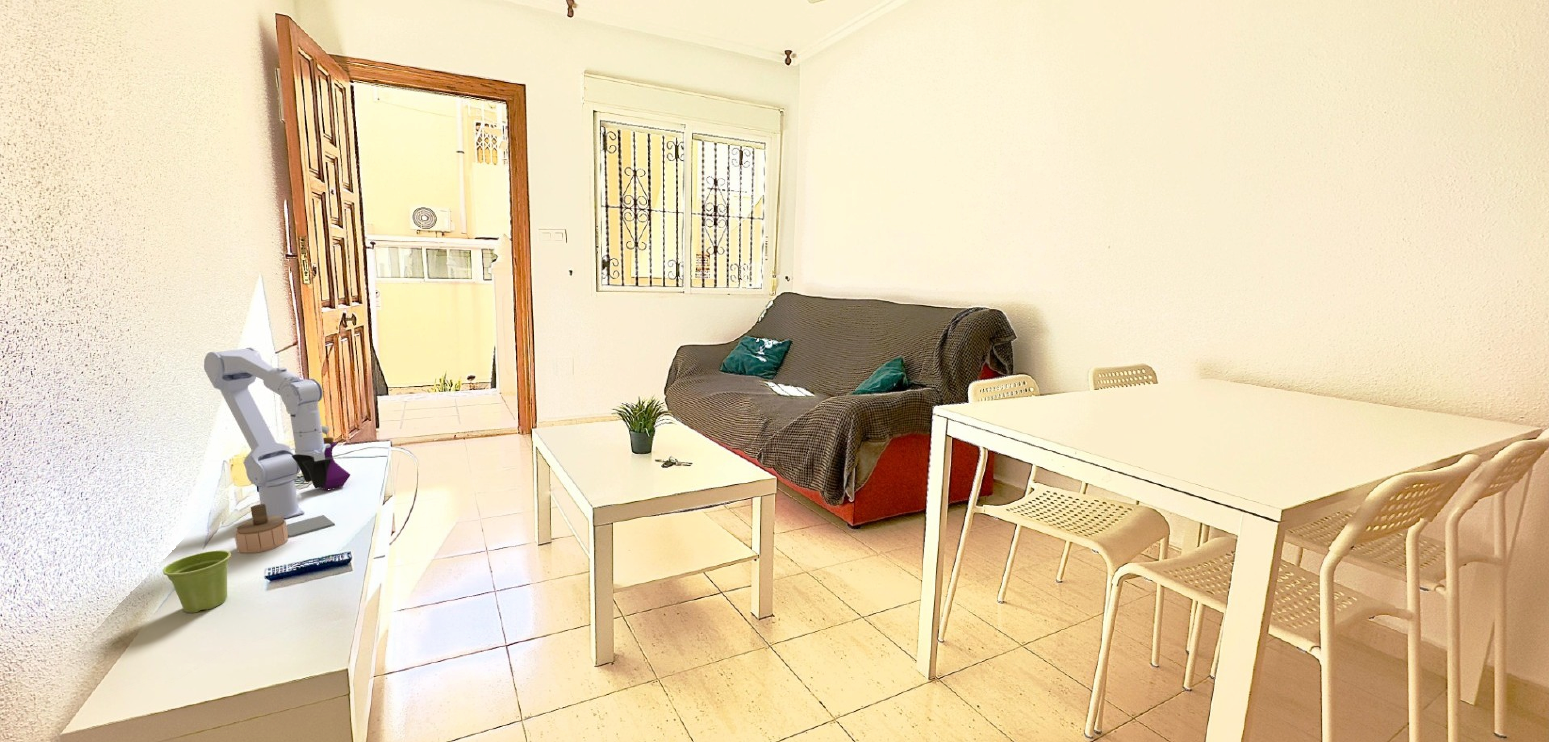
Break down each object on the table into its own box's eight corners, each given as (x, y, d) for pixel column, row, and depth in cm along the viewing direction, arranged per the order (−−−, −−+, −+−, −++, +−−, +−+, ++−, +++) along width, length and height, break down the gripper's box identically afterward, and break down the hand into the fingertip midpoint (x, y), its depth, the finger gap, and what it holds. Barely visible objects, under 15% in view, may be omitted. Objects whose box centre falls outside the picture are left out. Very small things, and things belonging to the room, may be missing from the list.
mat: (280, 527, 155) (279, 526, 155) (323, 516, 162) (323, 514, 162) (289, 537, 149) (289, 535, 149) (334, 525, 156) (334, 523, 156)
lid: (233, 528, 144) (229, 507, 144) (278, 516, 151) (275, 496, 150) (242, 537, 139) (239, 516, 138) (289, 524, 146) (286, 504, 145)
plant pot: (199, 620, 114) (190, 575, 112) (157, 616, 116) (148, 571, 114) (251, 594, 123) (243, 551, 121) (211, 590, 125) (204, 548, 123)
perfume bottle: (352, 485, 185) (343, 425, 182) (323, 493, 179) (314, 431, 176) (340, 481, 189) (331, 422, 186) (311, 489, 183) (301, 428, 180)
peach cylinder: (233, 546, 145) (230, 528, 144) (282, 533, 152) (279, 515, 151) (242, 557, 139) (239, 538, 139) (292, 543, 146) (289, 524, 145)
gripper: (336, 430, 153) (344, 485, 155) (318, 422, 162) (325, 473, 164) (300, 437, 147) (309, 493, 150) (284, 428, 157) (292, 481, 159)
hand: (315, 483), depth 156 cm, fingers open, 7 cm apart
